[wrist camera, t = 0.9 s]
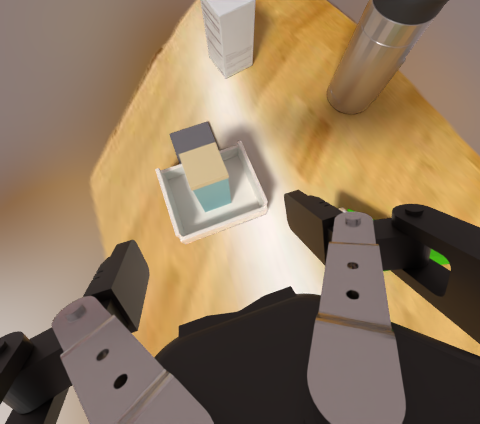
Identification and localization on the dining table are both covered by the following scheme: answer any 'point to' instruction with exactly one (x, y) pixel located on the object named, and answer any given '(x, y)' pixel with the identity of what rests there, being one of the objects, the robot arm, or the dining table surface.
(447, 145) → the dining table surface
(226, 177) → the tea tin
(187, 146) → the coaster
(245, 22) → the supplement box
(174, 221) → the tote
